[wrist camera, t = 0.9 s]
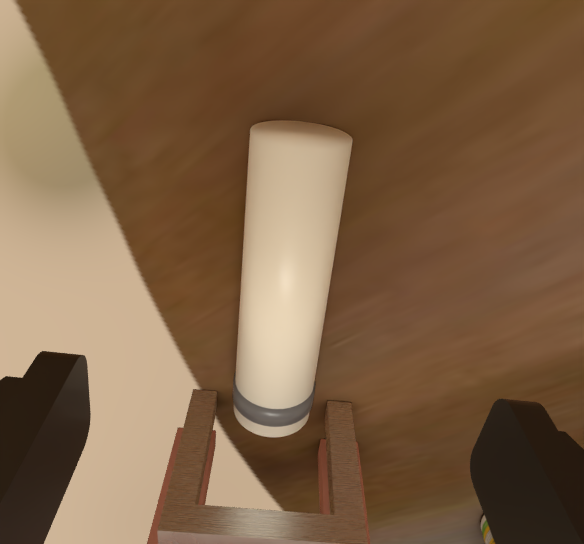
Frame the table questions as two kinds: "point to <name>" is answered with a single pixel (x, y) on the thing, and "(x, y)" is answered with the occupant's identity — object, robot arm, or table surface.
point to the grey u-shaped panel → (255, 522)
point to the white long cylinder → (286, 269)
